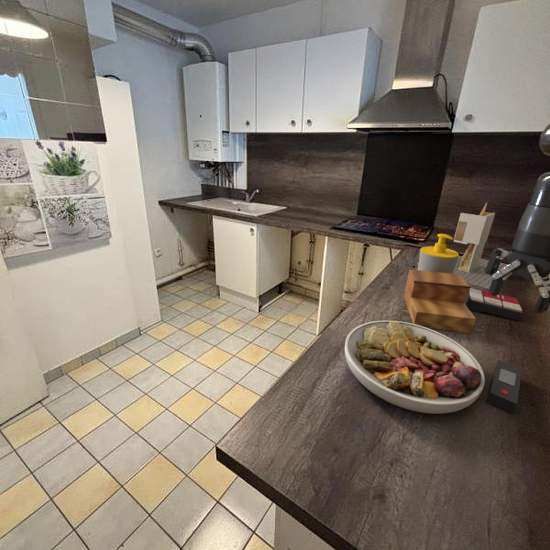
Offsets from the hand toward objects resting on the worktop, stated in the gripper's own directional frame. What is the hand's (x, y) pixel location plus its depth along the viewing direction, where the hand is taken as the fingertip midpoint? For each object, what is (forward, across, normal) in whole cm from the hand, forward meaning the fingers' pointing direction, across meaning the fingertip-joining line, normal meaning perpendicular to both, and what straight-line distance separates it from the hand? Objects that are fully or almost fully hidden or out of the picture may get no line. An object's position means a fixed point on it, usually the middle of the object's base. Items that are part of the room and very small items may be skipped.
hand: (514, 303), depth 63 cm
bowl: (+20, +9, +18) cm, 28 cm away
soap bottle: (+20, +42, -30) cm, 55 cm away
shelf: (+20, +26, -13) cm, 35 cm away
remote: (+20, -5, +2) cm, 20 cm away
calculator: (+20, +21, -34) cm, 45 cm away
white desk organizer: (+20, +53, -63) cm, 85 cm away
